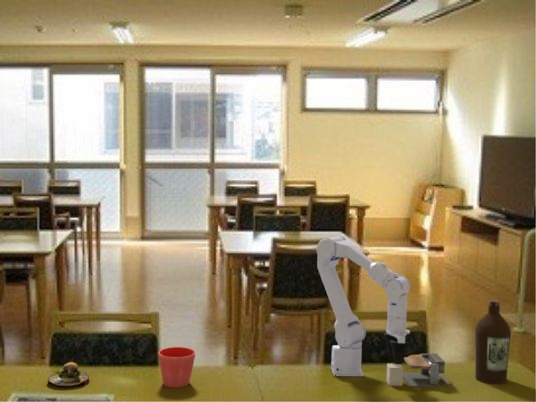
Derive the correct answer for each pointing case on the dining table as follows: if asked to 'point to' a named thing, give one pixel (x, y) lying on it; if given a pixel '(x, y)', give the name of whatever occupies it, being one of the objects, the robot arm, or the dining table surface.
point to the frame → (434, 372)
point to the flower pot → (176, 365)
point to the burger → (69, 376)
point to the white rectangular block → (394, 374)
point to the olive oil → (492, 346)
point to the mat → (418, 379)
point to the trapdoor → (425, 362)
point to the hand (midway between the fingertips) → (395, 360)
